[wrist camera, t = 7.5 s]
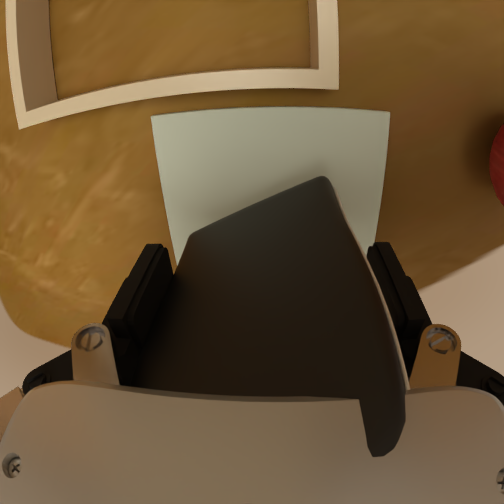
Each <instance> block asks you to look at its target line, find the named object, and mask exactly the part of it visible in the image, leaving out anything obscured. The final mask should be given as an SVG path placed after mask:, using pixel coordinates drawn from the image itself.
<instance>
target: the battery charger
mask: <svg viewBox="0 0 504 504" xmlns="http://www.w3.org/2000/svg"><path fill="white" fill-rule="evenodd" d="M129 387H137V388H146V389H154V390H163V391H172V392H183V393H195V394H210V395H228V396H259V397H295V396H310V397H329V398H347V399H359V403H360V408H361V413H362V418H363V424H364V429H365V434H366V441H367V447H368V449H369V451H370V453H371V455H372V457H382V456H385V455H386V454H388V453H389V452H390V451H392V450H393V449H394V448H395V446H396V444H397V443H398V441H399V438H400V436H401V433H402V430H403V427H404V425H405V422H406V411H405V394H406V390H410V386H409V381H408V377H407V372H406V368H405V364H404V360H403V356H402V353H401V349H400V345H399V342H398V338H397V335H396V331H395V328H394V325H393V322H392V319H391V316H390V313H389V310H388V307H387V304H386V302H385V299H384V296H383V294H382V291H381V289H380V286H379V284H378V282H377V279H376V277H375V275H374V273H373V270H372V268H371V266H370V264H369V262H368V260H367V257H366V255H365V253H364V251H363V249H362V247H361V245H360V243H359V241H358V239H357V237H356V235H355V234H354V232H353V230H352V228H351V226H350V224H349V222H348V220H347V217H346V215H345V212H344V210H343V207H342V204H341V201H340V198H339V195H338V192H337V190H336V188H335V187H334V186H332V184H331V182H330V180H329V179H328V178H327V177H325V176H318V177H316V178H313V179H311V180H308V181H306V182H303V183H301V184H299V185H296V186H294V187H291V188H289V189H287V190H284V191H282V192H280V193H277V194H275V195H273V196H270V197H268V198H266V199H264V200H261V201H259V202H257V203H254V204H252V205H250V206H248V207H246V208H243V209H241V210H239V211H237V212H235V213H233V214H230V215H228V216H226V217H224V218H222V219H220V220H218V221H215V222H213V223H211V224H209V225H207V226H205V227H203V228H201V229H199V230H197V231H195V232H193V233H192V234H190V235H189V237H188V239H187V242H186V245H185V248H184V250H183V253H182V256H181V258H180V260H179V263H178V265H177V268H176V271H175V273H174V275H173V278H172V280H171V283H170V285H169V287H168V289H167V291H166V294H165V296H164V298H163V300H162V303H161V305H160V307H159V310H158V312H157V314H156V317H155V319H154V322H153V324H152V327H151V329H150V332H149V334H148V337H147V339H146V342H145V344H144V347H143V349H142V352H141V354H140V357H139V360H138V363H137V365H136V368H135V371H134V374H133V377H132V380H131V383H130V386H129Z"/></svg>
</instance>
